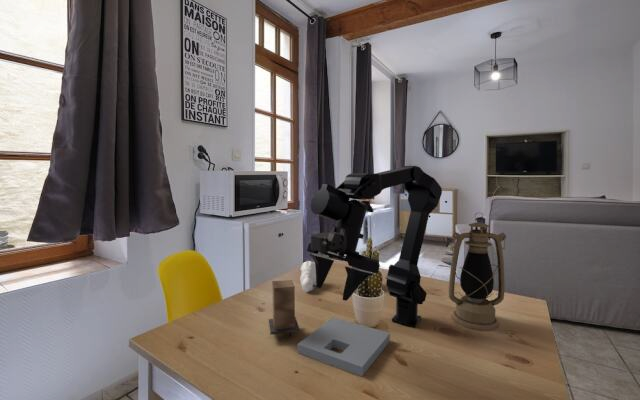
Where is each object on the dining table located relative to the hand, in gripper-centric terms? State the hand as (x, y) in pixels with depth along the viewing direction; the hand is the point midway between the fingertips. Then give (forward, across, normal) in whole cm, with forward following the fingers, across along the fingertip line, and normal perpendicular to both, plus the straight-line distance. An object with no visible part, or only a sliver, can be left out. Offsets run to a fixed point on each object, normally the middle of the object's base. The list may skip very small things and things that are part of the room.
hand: (330, 293), depth 71 cm
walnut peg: (+14, -14, +1) cm, 20 cm away
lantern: (-1, +12, +44) cm, 46 cm away
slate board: (+12, 0, +9) cm, 15 cm away
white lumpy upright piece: (+7, -37, +23) cm, 44 cm away
